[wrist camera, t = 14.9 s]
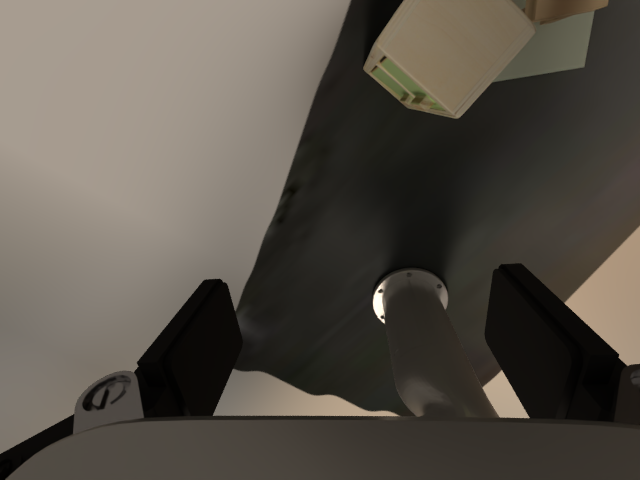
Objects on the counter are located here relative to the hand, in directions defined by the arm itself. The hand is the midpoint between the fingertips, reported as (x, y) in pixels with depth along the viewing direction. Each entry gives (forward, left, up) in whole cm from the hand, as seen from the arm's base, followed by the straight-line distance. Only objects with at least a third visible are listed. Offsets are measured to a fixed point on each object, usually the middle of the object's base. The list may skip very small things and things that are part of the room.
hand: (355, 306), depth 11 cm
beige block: (+9, -7, -36) cm, 38 cm away
